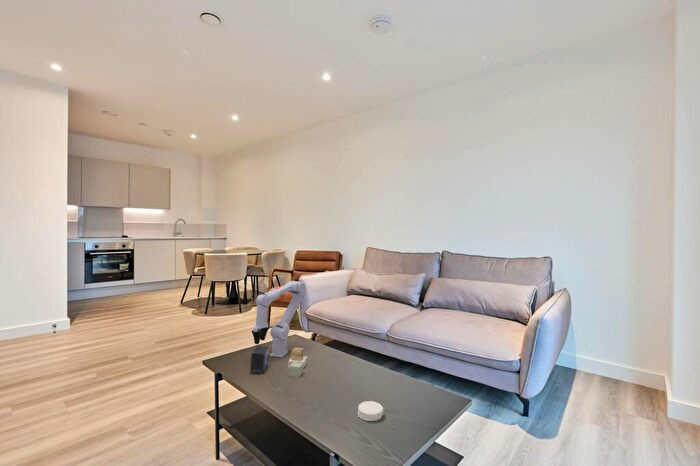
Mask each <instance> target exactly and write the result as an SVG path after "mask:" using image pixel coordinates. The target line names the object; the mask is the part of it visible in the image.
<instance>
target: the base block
mask: <svg viewBox="0 0 700 466" xmlns="http://www.w3.org/2000/svg"><path fill="white" fill-rule="evenodd" d="M307 360H308V356H304V355H303V359H302V360H301V361H294V360H291V357H290V358H289V360H288V364H287V366H288V367H287V368H288V369H290V366H291V365H292V364H293V363H294V362H296V363H303V370H304V369H305V367H306V365H307V363H308V361H307Z"/></svg>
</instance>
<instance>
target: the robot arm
mask: <svg viewBox="0 0 700 466" xmlns="http://www.w3.org/2000/svg"><path fill="white" fill-rule="evenodd" d="M306 290H307V287H306V284H305V282H304V281H296V280H290V281H288V282H287V283H286V284H284V285H282V286H281V287H279V288H278V289H276V288H272V289H271V290H270V291H267V292H264V293H263V294H258V295H257V297H256V298H255V304H256V317H255V318H256V319H255V325H254V327H253V330H251V334H252V337H253V340H254V341H253V342H254V345H260V341H265V340H266V337H267V334H268V331H269V329H270V331H269V333H270V336H271V338H272V348H271V349H272V352H271V353H269V354H268V357H269V356H270V357H276V358H283V357H284V356H285V355H287V354H288V353H289V350H288V336H289V332H290V330H291V329H290V326H289V325H290V323H291V321H292V319H293V317H294V316H295V313H296V312H297V309H298V308H299V306H300V304H301V302H302V300H303V297H304V294H305V293H306ZM287 292H289V293H290V295H291V296H292V298H291V301H290V302H289V304H288V305H287V307H286V309H285V311H284V313H283V314H282V317H281V319H280V320H279V321H278V322H276V323H275V324H274V326H272V327H271V328H270V327H269V322H267V321H268V309H269V306H270V305H271V303H272V302H274V301H275V300H278V299H280V297H281V295H283V294H286V293H287Z"/></svg>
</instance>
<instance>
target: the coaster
mask: <svg viewBox="0 0 700 466" xmlns="http://www.w3.org/2000/svg"><path fill="white" fill-rule="evenodd" d="M357 408H358V409H357V416H358V418H359V417H360V418H361V419H360V418H359V419H360V420H362V419H363V420H367V421H372V420H376V419H379V418H381V416H382V415H383V416H384V407H383V406H382V405H381V403H379V402H376V401H371V400H369V401H368V400H366V401H363V402H361V403H359V405H358V407H357ZM363 420H362V421H363Z"/></svg>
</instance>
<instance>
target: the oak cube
mask: <svg viewBox="0 0 700 466" xmlns="http://www.w3.org/2000/svg"><path fill="white" fill-rule="evenodd" d="M304 350H305V349H304V348H303V347H302V348H301V347H294V348H292V350H291V353H290V354H291V355H290V358H291V360H294V361H301V360H302V359H303V356H304V353H305V352H304Z"/></svg>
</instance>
